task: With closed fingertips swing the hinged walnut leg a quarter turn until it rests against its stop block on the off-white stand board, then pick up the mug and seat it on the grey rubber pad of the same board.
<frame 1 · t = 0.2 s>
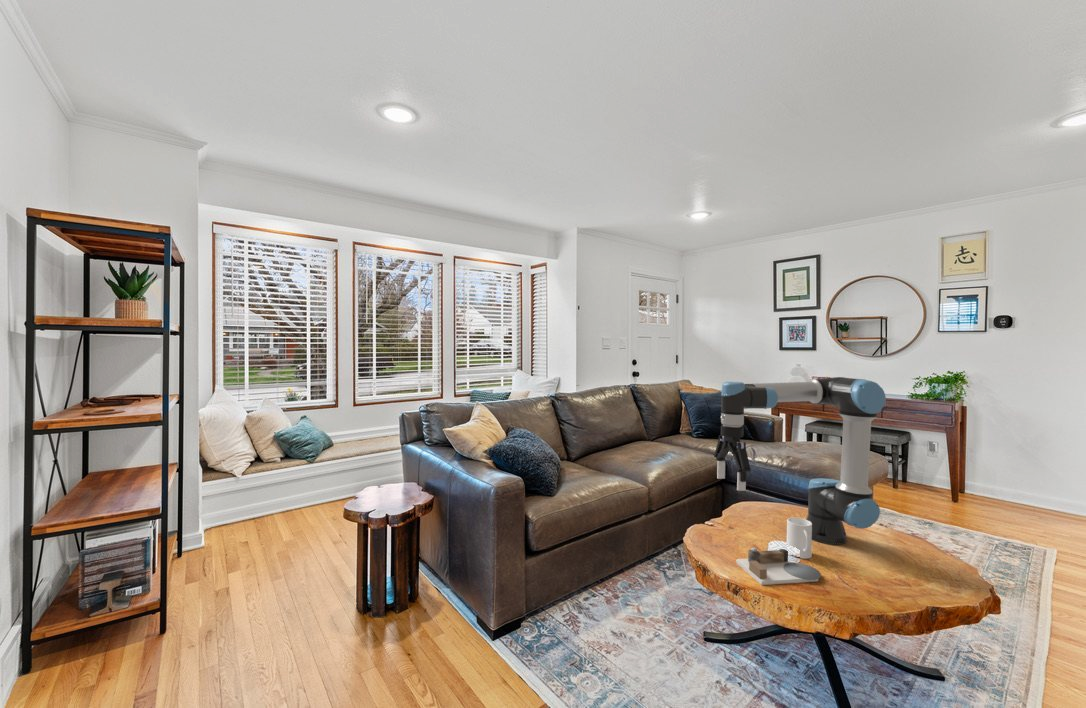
hand: (730, 484, 166), 27 cm above the table, fingers open, 13 cm apart
mug: (799, 555, 170), on the table
leg: (768, 555, 162), point 3 cm above the table, hinge at 0.0°
stand board: (775, 571, 158), on the table
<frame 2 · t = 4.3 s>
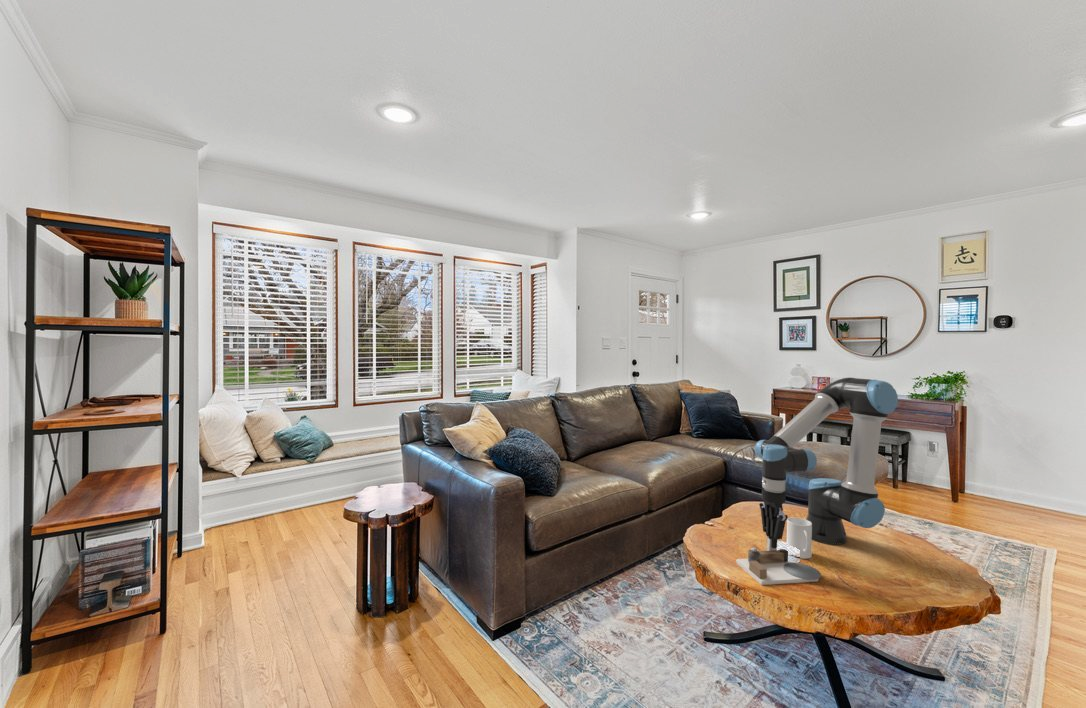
hand: (771, 555, 164), 3 cm above the table, fingers closed
leg: (768, 555, 162), point 3 cm above the table, hinge at 0.0°, touching gripper
everything else where it was.
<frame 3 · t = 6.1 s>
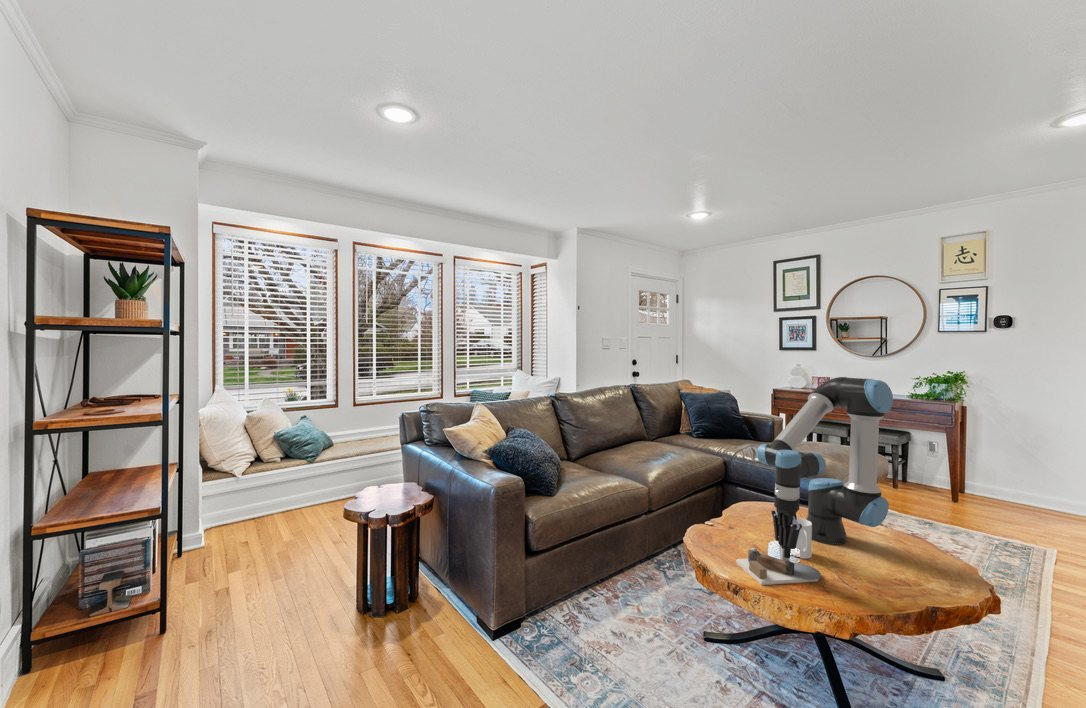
hand: (784, 565, 157), 3 cm above the table, fingers closed
leg: (770, 561, 157), point 3 cm above the table, hinge at 48.9°, touching gripper
everything else where it was.
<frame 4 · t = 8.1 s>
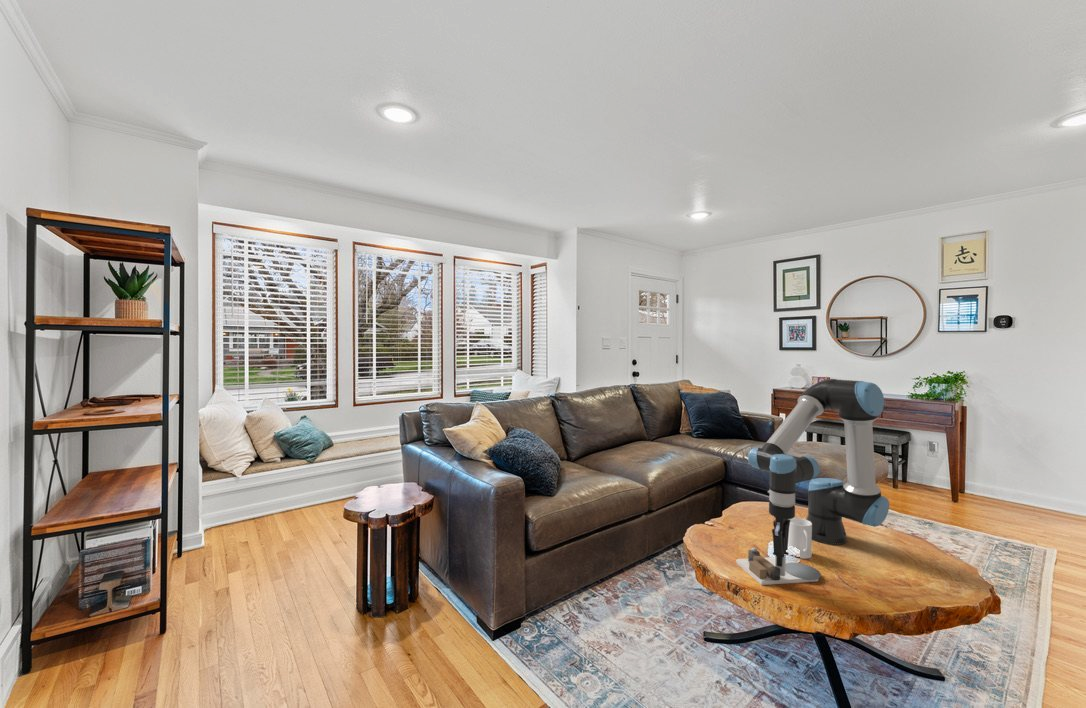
hand: (780, 574, 151), 2 cm above the table, fingers closed
leg: (763, 564, 156), point 3 cm above the table, hinge at 88.4°, touching gripper
everything else where it was.
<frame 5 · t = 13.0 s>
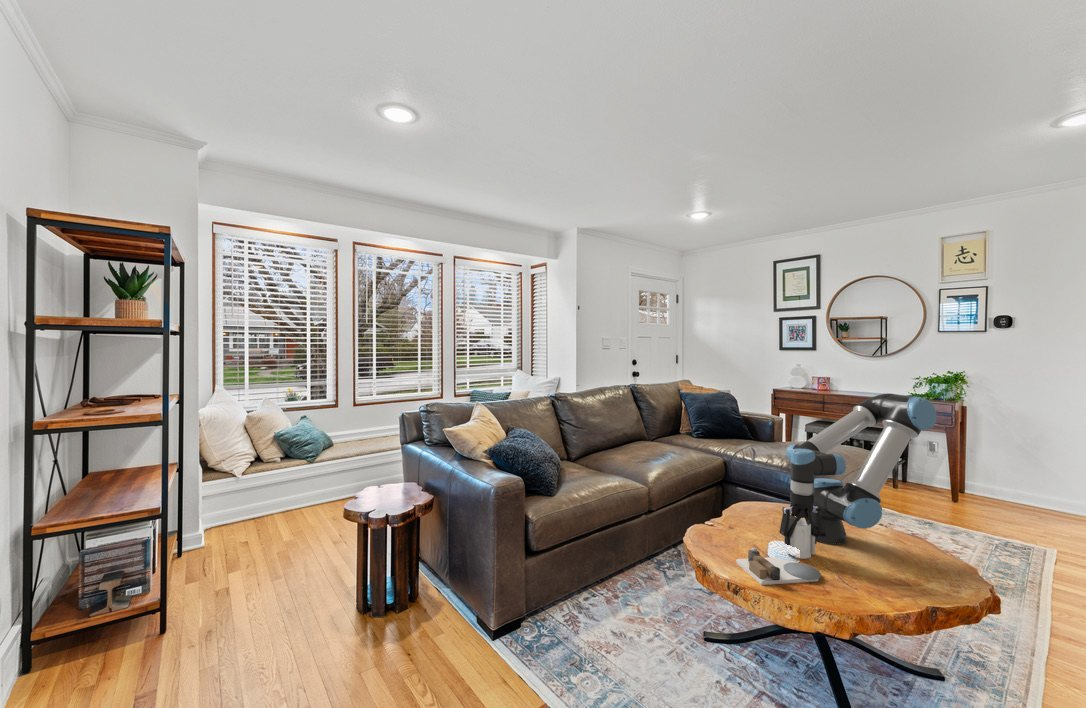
hand: (800, 553, 170), 1 cm above the table, fingers closed on mug, 8 cm apart
mug: (798, 555, 170), on the table, touching gripper
leg: (763, 564, 156), point 4 cm above the table, hinge at 88.4°
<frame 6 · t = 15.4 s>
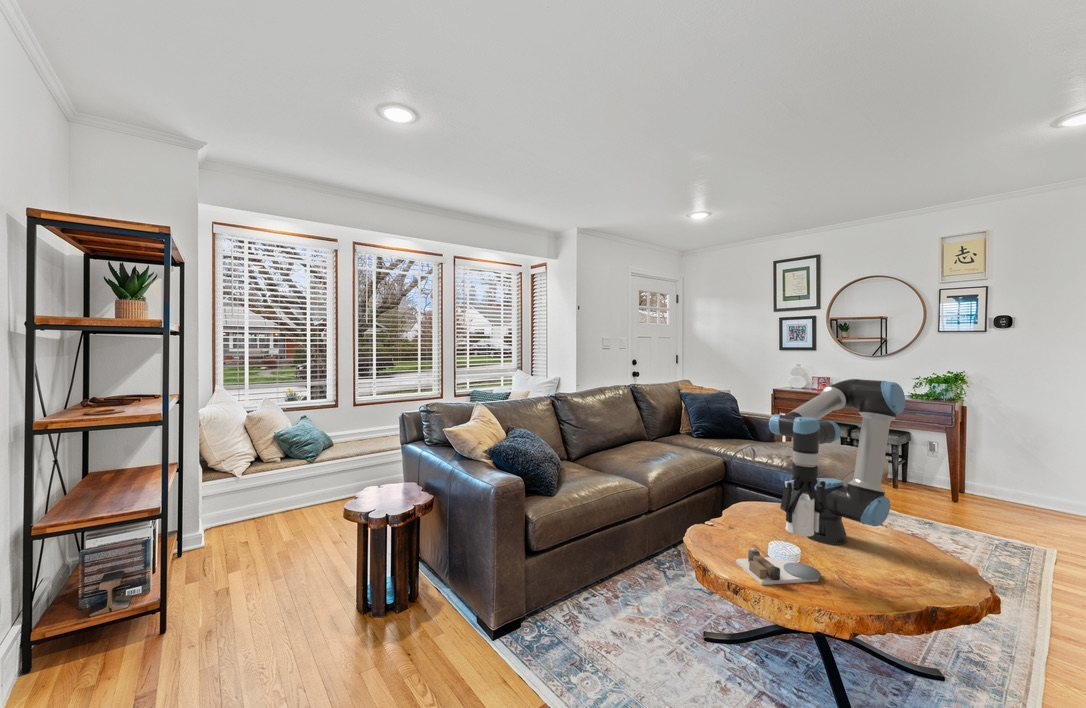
hand: (802, 531, 155), 15 cm above the table, fingers closed on mug, 8 cm apart
mug: (801, 533, 155), point 14 cm above the table, touching gripper
everything else where it was.
when the fingers open (3 cm above the table, at t = 17.9 s): mug stays where it is, resting on stand board.
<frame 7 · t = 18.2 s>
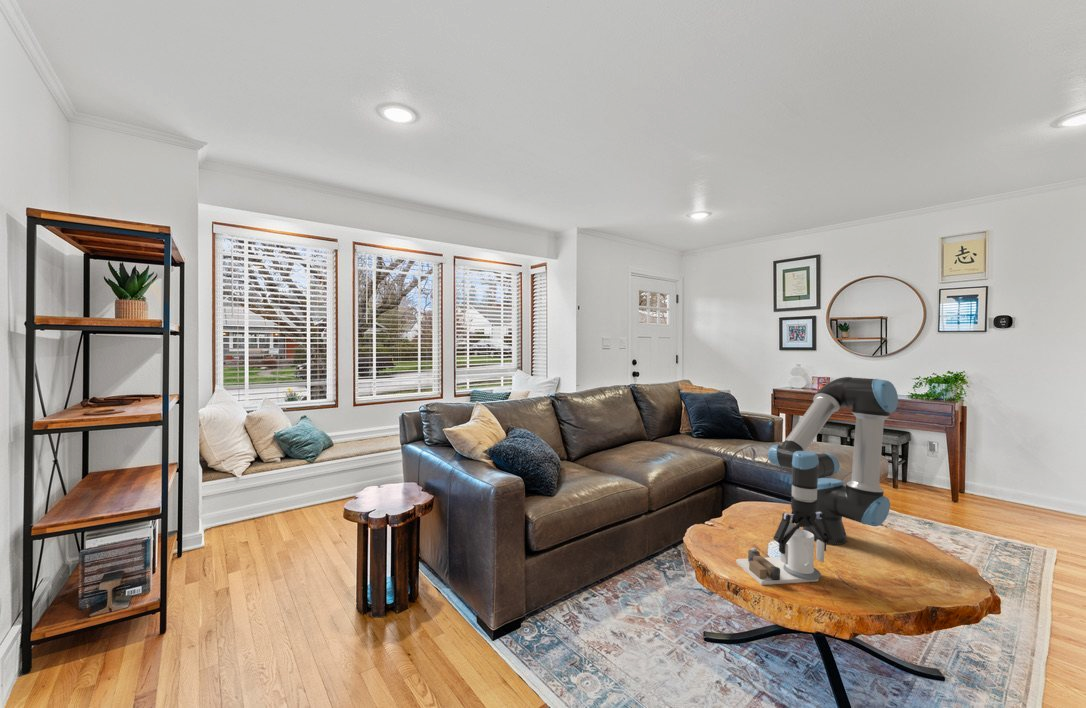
hand: (802, 561, 156), 5 cm above the table, fingers open, 12 cm apart
mug: (801, 570, 156), point 1 cm above the table, touching stand board
everything else where it was.
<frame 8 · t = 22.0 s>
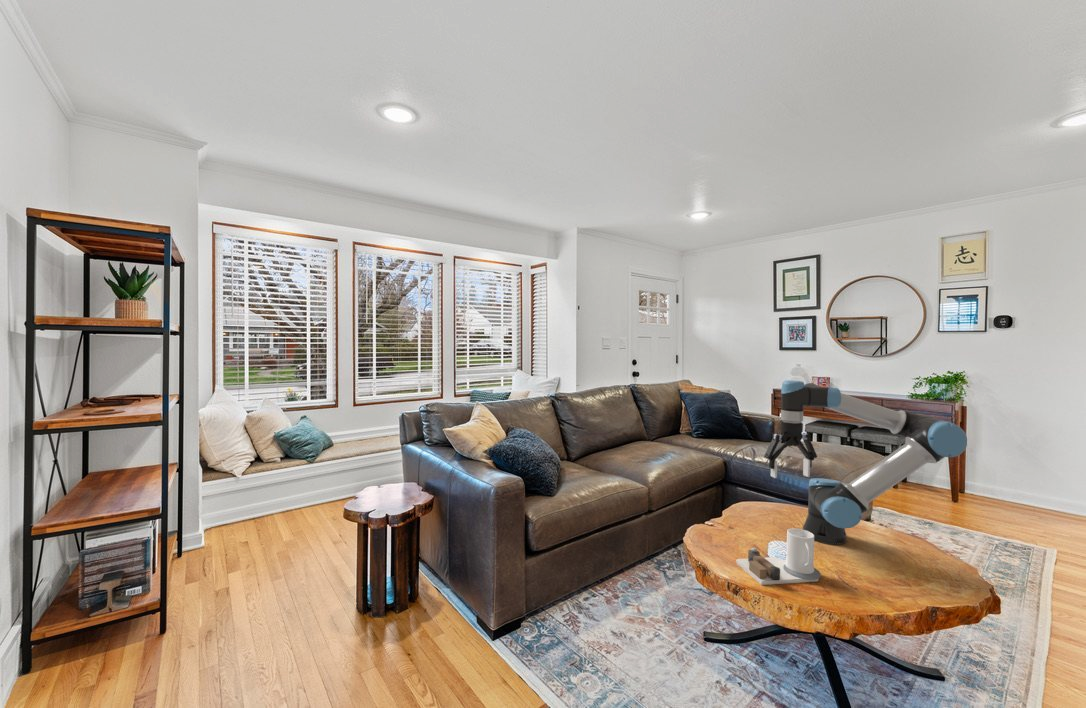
hand: (790, 476, 177), 27 cm above the table, fingers open, 13 cm apart
nothing on the table moved.
at the end: leg at +88° (first picture: +0°); mug inside the target area (0.3 cm from its centre), point 1.3 cm above the table; mug tilted 0° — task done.
